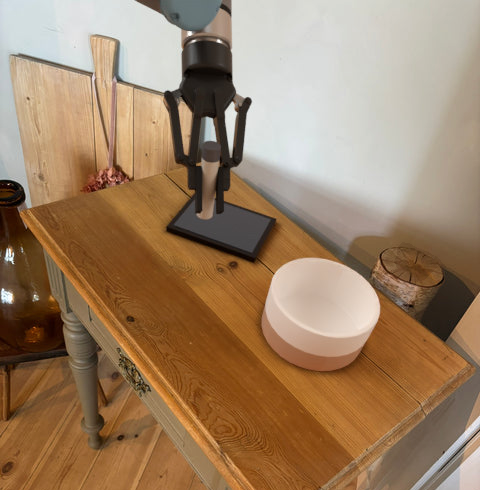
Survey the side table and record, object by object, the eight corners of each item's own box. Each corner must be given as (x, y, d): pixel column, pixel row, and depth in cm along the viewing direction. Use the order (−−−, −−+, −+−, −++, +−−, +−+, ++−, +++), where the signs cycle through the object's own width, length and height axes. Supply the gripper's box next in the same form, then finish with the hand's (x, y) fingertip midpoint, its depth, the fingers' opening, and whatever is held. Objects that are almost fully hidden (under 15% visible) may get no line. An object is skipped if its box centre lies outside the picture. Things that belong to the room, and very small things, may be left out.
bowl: (241, 336, 73) (250, 300, 67) (288, 279, 84) (299, 243, 78) (339, 390, 69) (358, 357, 63) (375, 322, 80) (394, 288, 74)
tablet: (166, 231, 88) (166, 226, 87) (195, 196, 97) (196, 190, 96) (254, 263, 86) (255, 257, 85) (275, 223, 95) (277, 218, 94)
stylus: (193, 216, 74) (199, 146, 65) (200, 208, 76) (207, 138, 67) (208, 221, 74) (217, 151, 65) (215, 213, 75) (224, 144, 67)
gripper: (251, 68, 74) (253, 217, 75) (152, 58, 70) (155, 215, 72) (264, 43, 66) (265, 209, 68) (154, 31, 63) (158, 206, 64)
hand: (209, 212), depth 70 cm, fingers closed on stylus, 2 cm apart
